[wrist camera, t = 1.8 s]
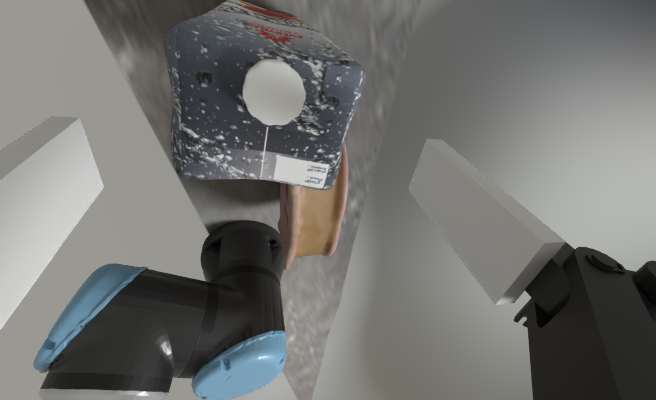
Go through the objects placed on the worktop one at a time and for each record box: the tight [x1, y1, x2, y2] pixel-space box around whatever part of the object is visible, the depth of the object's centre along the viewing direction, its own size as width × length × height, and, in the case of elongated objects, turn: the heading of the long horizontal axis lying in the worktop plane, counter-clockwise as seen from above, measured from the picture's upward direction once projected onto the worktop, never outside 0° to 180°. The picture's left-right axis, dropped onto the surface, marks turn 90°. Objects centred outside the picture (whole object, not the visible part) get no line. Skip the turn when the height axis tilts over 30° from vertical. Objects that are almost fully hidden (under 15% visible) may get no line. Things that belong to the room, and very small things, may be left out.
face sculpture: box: [278, 141, 348, 270], centre depth 39 cm, size 20×7×17 cm, turn 174°
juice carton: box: [165, 0, 366, 190], centre depth 25 cm, size 9×10×27 cm
